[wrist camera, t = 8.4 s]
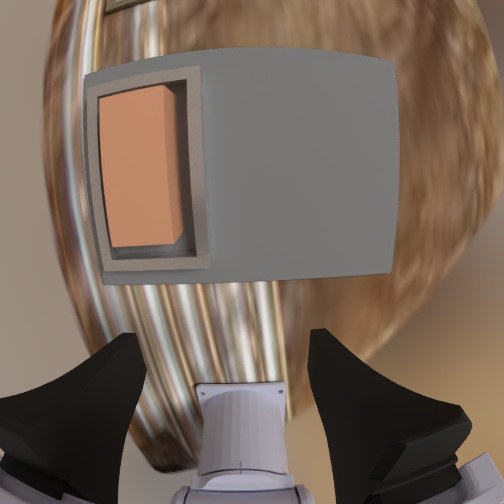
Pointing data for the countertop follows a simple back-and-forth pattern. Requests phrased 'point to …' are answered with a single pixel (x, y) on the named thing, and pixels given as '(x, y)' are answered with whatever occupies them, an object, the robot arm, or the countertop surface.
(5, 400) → the robot arm
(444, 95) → the countertop surface
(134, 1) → the framed mirror
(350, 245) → the mat
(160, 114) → the tall peach block
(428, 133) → the countertop surface
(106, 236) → the tray frame
